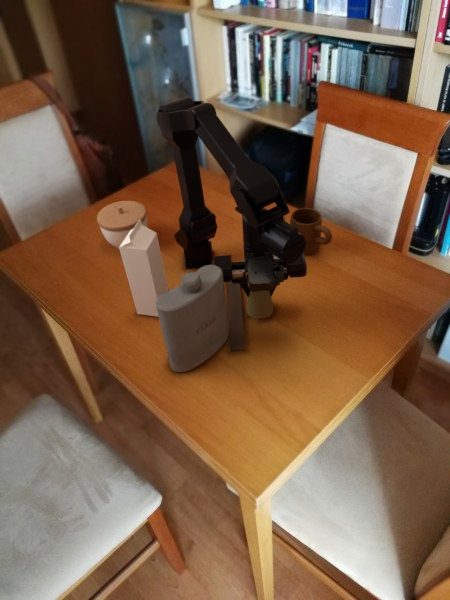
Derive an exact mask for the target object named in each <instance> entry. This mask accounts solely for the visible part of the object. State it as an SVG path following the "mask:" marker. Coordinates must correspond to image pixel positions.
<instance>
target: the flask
mask: <svg viewBox="0 0 450 600" xmlns="http://www.w3.org/2000/svg"><path fill="white" fill-rule="evenodd" d="M180 283H181V284H179V285H177V286H176V287H174V288H172V289H170V290H169V291H168V292H166V293H164V294H162V295H160V296H159V297H158V298H157V299H156V302H155V303H156V308H157V312H158V316H159V317H158V320H159V324H160V329H161V333H162V338H163V342H164V345H165V346H164V347H165V349H166V354H167V357H168V362H169V367H170V368H171V370H172V371H175V372H177V373H184V372H189V371H191V370H193V369H195V368H196V367H198V366H200V365H201V364H203V363H204V362H206V361H207V360H208V359H210V358H211V357H212V356H214V355H215V354H216V353H217V352H219V350H220V349H221V348H222V346H223V345H224V344H225V343H226V342H227V340H228V338H229V336H230V330H229V320H228V311H227V302H226V292H225V282H224V280H223V272H222V269H221V268H220V267H218V266H215V265H212V264H211V265H206V266H203V267H200V268H198V270H197V271H195V272H193V271H190V272H187V273H184V274H183V275H182V276H181V278H180Z"/></svg>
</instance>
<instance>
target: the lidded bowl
mask: <svg viewBox="0 0 450 600" xmlns="http://www.w3.org/2000/svg"><path fill="white" fill-rule="evenodd" d="M140 219H141V222H142V225H143V226H145V227H147V228H149V225H148V216H147V209H146V207H145V206H144V204H142V203H141V202H139V201H135V200H120V201H115V202H112V203H110V204H107V205H106V206H104V207H102V209H100V211H99V212H98V213H97V215H96V221H97V224H98V226H99V229H100V232H101V233H102V236H103V237H104V239H105V240H106V241H107V243H108V244H110V245H111V246H113V247H115V248H117V249H118V250H120V249H119V247H120V245H121V244H122V242H123V241H124V239H125V238H126V236H127V235H128V233H129V232H130V230H132V229H134V227H135V226H136V224H137V223H138V221H139V220H140Z"/></svg>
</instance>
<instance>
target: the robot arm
mask: <svg viewBox="0 0 450 600" xmlns="http://www.w3.org/2000/svg"><path fill="white" fill-rule="evenodd" d="M217 114H218V113H217V110H216V108H215V106H214V105H213V104H212V103H211V102H205V101H204V100H193V98H192V97H190V96H185V97H182V98H179V99H176V100H173V101H170V102H167V103H164V104H161V105H160V106H159V107H158V109H157V111H156V118H155V119H156V124H157V126H158V128H159V129H160V133H161V136H162V137H163V138H164V139H165V140H166V141H167V142H168V143H169V145H170V146H171V148H172V154H173V159H174V164H175V168H176V174H177V180H178V185H179V190H180V195H181V200H182V206H183V207H182V209H181V212H180V215H179V218H178V224H179V225H178V226H179V230H177V231H176V232H175V233H174V234H173V237H174V240H175V242H176V244H177V245H179V247H181V248H182V249H183V254H184V268H185V269H200V268H201V267H203V266H206V265H215V266H218V267H220V268H221V269H222V272H223V280H224V283H227V282H230V281H232V283H233V284H240V288H241V289H242V290H243V292H244V294H245V295H246V298H247V297H249V294H250V293H249V289H250V290H251V291H252V292H257V291H270V295H271V298H272V297H273V295H274V293H275V291H276V289H277V286H280V285H281V283H284V282H285V281H287V280H288V279H289V277H290V278H291V279H292V278H304V277H306V276H307V271H308V267H307V266H308V265H307V261H306V257H305V256H306V255H304V250H305V248H306V239H305V237H304V235H302V234H300V233H299V232H298V228H297V227H295V226H294V225H291V224H290V222H287V220H285V221H284V220H283V216H285V217H286V216H287V215H288V214H290V213H291V211H290V208H289V206H288V200H287V199H286V197H285V195H284V193H283V191H282V189H281V187H280V184H279V183H278V180H277V179H276V178H275V176H273V174H272V173H271V172H270V171H269V170H268V169H267V168H266V167H265V166H264V165H263V164H260V163H258V162H255V161H254V160H251V158H249V156H248V155H247V154H246V153H245V151H244V150H243V148H242V147H241V146H240V144H238V142H237V140H236V139H235V138H234V136H233V135H232V134H231V132H230V131H229V130H228V128H227V127H226V126H225V124H224V123H223V122H222V120H221V119H220V118H219V116H218V115H217ZM198 139H200V140H201V142H202V143H203V145H204V146H205V147H206V149H207V150H208V152H209V153H210V154H211V156H212V157H213V159H214V160H215V161H216V163H217V164H218V165H219V167H220V168H221V170H222V171H223V172H224V174H225V175H226V177H227V178H228V180H229V192H230V194H231V197H232V198H233V200H234V202H235V204H236V206H235V207H234V210H235V211H236V212H237V213H238V214H240V215H241V220H242V240H243V259H242V260H241V261H233V260H232V254H225V255H224V254H223V255H214V251H213V244H212V243H213V242H212V240H211V239H214V238H216V233H217V231H218V230H217V229H218V228H219V227H218V224H217V215H216V214H215V213H213V212H212V211H211V210H210V209H209V208H208V207H207V206H206V202H205V196H204V190H203V189H204V188H203V183H202V177H201V170H200V162H199V157H198V152H197V151H198V150H197V141H198ZM273 204H275V206H274V207H272V208H270V209H269V208H268V209H267V208H266V207H268V206H270V205H273ZM274 255H275V256H274ZM247 273H248V281H249V284H248V281H247Z"/></svg>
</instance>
